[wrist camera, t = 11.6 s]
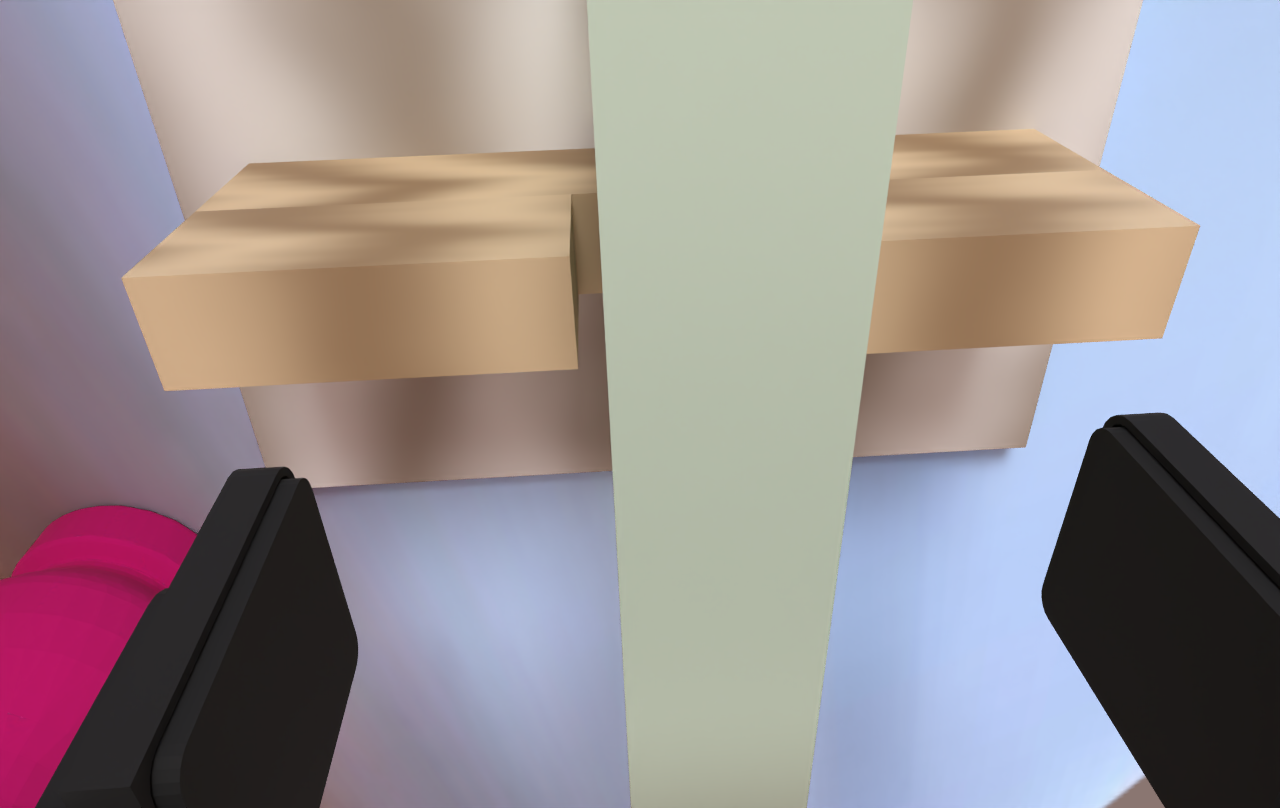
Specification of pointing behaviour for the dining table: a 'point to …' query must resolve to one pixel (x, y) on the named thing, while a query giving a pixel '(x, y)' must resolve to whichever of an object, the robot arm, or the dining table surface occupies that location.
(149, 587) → the pepper mill
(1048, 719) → the dining table surface
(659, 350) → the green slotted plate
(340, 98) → the oak plate stand
